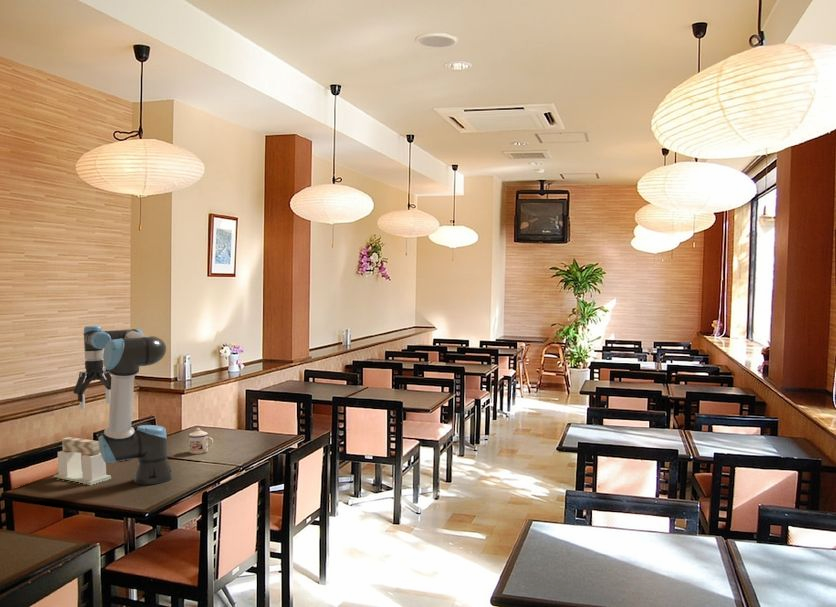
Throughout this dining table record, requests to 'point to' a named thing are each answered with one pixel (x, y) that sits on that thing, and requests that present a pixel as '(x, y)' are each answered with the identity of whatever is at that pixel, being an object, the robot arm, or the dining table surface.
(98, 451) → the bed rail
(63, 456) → the twin white pillars base
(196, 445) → the teacup with lid
